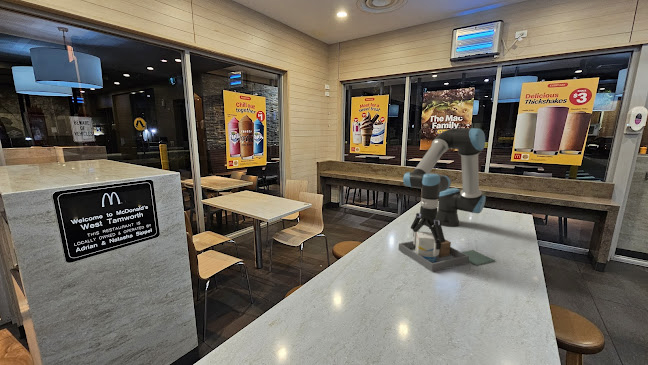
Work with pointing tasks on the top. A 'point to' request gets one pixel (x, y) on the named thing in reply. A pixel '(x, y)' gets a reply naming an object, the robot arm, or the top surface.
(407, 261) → the top surface
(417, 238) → the ink box
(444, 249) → the walnut block
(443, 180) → the robot arm
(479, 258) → the pad
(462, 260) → the bin
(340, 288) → the top surface
